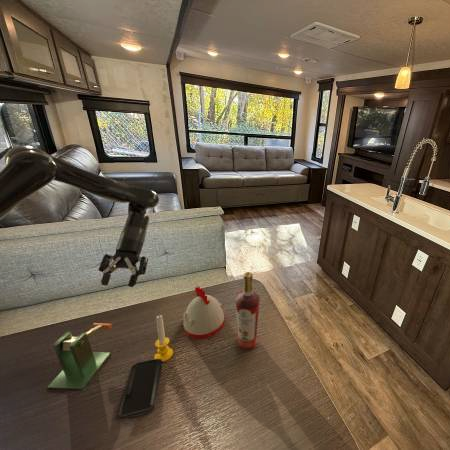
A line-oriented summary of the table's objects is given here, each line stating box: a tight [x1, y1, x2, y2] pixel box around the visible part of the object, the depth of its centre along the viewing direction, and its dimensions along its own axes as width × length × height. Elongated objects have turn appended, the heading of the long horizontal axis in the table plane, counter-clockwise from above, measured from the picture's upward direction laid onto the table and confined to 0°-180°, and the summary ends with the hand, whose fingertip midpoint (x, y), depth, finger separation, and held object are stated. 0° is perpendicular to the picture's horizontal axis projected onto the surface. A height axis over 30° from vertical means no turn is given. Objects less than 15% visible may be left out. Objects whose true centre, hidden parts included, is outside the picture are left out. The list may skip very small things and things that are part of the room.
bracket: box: [46, 331, 112, 391], centre depth 68 cm, size 11×9×13 cm
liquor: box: [235, 271, 260, 350], centre depth 79 cm, size 7×7×28 cm
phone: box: [118, 358, 163, 419], centre depth 68 cm, size 8×1×15 cm
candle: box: [153, 314, 174, 363], centre depth 74 cm, size 5×5×16 cm
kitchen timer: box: [182, 286, 225, 339], centre depth 87 cm, size 14×14×15 cm
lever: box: [63, 322, 113, 351], centre depth 71 cm, size 13×5×2 cm, turn 2°
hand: (117, 285), depth 83 cm, fingers open, 8 cm apart
